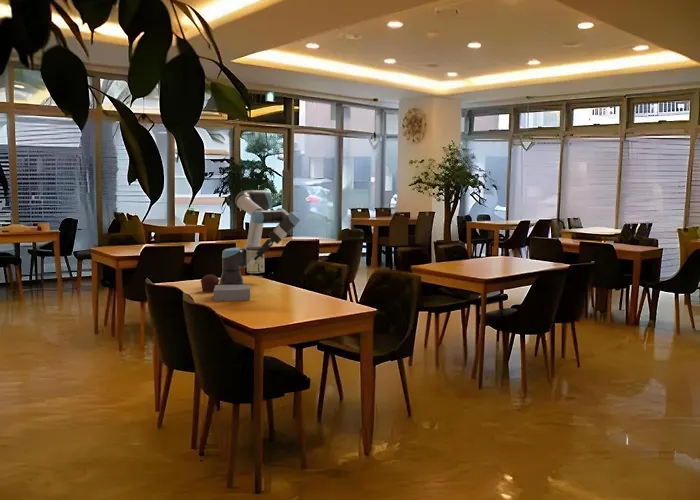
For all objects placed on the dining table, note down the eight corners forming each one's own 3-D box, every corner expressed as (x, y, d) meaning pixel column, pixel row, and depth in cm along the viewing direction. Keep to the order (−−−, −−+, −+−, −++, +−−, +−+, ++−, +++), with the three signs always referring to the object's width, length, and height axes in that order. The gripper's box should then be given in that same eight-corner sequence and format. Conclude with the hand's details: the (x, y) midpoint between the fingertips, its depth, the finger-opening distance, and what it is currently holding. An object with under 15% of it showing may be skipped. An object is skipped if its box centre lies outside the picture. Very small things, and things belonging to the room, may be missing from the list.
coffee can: (248, 270, 387) (248, 246, 385) (266, 270, 386) (266, 246, 384) (244, 273, 376) (244, 248, 375) (262, 273, 376) (262, 248, 374)
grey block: (215, 295, 390) (215, 285, 390) (250, 294, 393) (250, 284, 393) (213, 300, 370) (213, 290, 370) (250, 300, 373) (250, 289, 373)
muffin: (214, 293, 397) (214, 276, 396) (197, 292, 400) (197, 275, 399) (222, 290, 409) (222, 274, 408) (205, 289, 411) (205, 273, 410)
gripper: (283, 241, 371) (255, 269, 370) (280, 237, 393) (254, 264, 392) (273, 231, 369) (245, 260, 368) (271, 228, 391) (245, 255, 390)
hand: (250, 262), depth 380 cm, fingers closed on coffee can, 10 cm apart
